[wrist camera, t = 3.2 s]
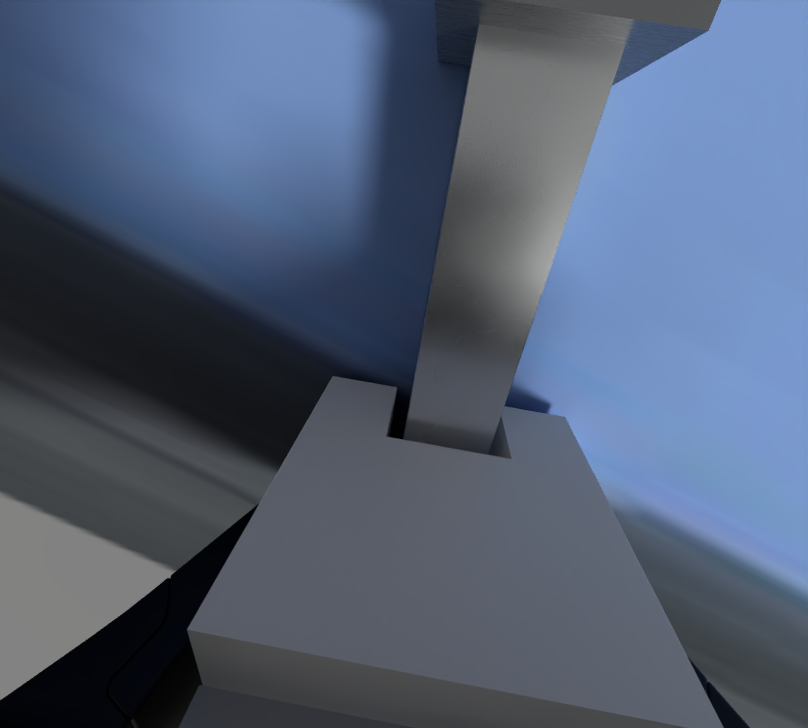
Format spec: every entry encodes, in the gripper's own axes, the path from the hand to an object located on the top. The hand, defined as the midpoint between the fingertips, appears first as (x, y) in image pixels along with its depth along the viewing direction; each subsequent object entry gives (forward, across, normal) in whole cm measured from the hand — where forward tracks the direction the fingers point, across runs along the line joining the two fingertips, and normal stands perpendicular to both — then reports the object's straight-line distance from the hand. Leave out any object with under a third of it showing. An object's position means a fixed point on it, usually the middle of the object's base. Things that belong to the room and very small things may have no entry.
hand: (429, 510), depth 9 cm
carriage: (+2, 0, 0) cm, 2 cm away
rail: (+2, 0, -2) cm, 3 cm away
